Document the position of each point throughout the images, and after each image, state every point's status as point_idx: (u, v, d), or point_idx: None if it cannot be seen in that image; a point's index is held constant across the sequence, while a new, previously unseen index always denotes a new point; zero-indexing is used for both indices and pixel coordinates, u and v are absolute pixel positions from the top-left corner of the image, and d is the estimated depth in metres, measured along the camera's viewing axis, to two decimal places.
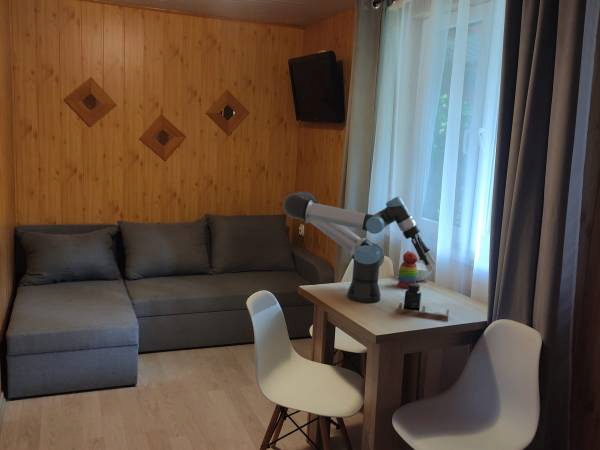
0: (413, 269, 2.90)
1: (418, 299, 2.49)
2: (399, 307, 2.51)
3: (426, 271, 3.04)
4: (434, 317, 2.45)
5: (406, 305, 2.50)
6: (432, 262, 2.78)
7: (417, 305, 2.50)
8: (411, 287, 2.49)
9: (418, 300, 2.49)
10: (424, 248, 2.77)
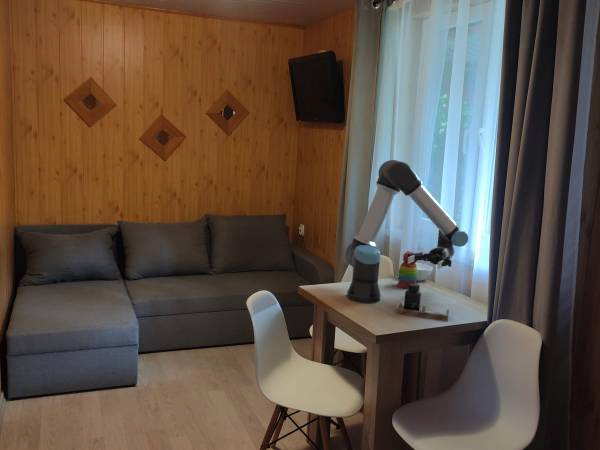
0: (413, 269, 2.90)
1: (418, 299, 2.49)
2: (399, 307, 2.51)
3: (426, 271, 3.04)
4: (434, 317, 2.45)
5: (406, 305, 2.50)
6: (410, 260, 2.62)
7: (417, 305, 2.50)
8: (411, 287, 2.49)
9: (418, 300, 2.49)
10: (418, 258, 2.69)
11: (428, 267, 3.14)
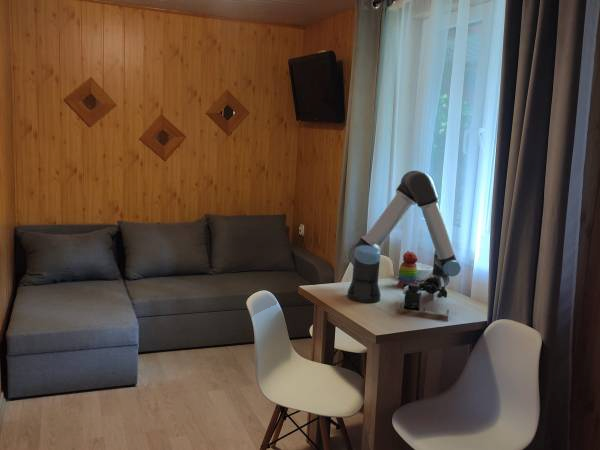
0: (413, 269, 2.90)
1: (418, 299, 2.49)
2: (399, 307, 2.51)
3: (426, 271, 3.04)
4: (434, 317, 2.45)
5: (406, 305, 2.50)
6: (405, 291, 2.60)
7: (417, 305, 2.50)
8: (411, 287, 2.49)
9: (418, 300, 2.49)
10: None
11: (428, 267, 3.14)
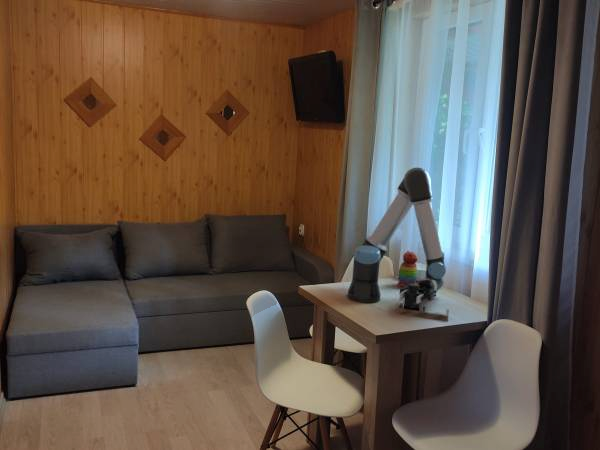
0: (413, 269, 2.90)
1: None
2: (399, 307, 2.51)
3: None
4: (434, 317, 2.45)
5: (406, 305, 2.50)
6: (402, 296, 2.50)
7: (417, 305, 2.50)
8: (411, 287, 2.49)
9: None
10: None
11: None
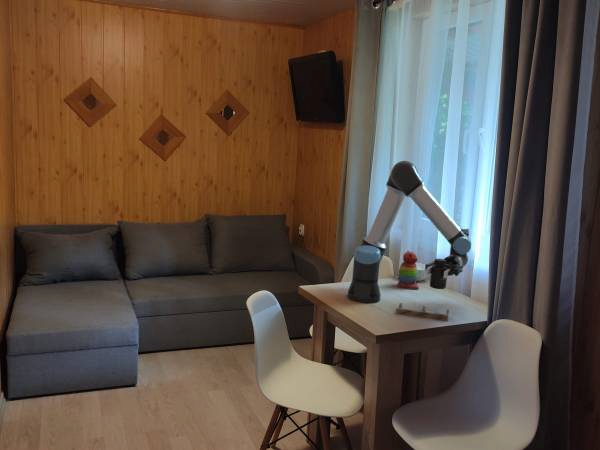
0: (413, 269, 2.90)
1: None
2: (399, 307, 2.51)
3: None
4: (434, 317, 2.45)
5: (433, 280, 2.46)
6: (428, 272, 2.46)
7: (444, 280, 2.45)
8: (438, 262, 2.45)
9: None
10: None
11: None
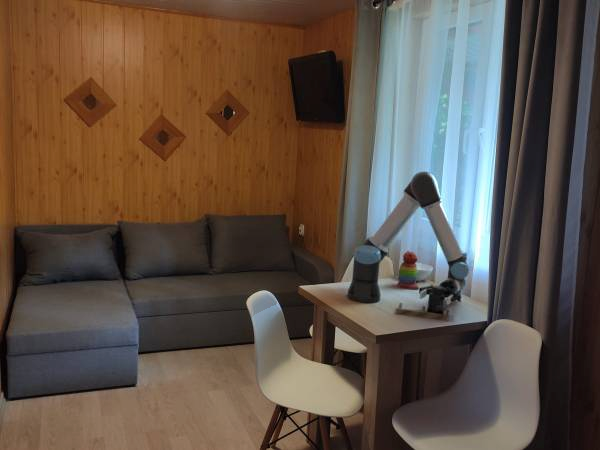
0: (413, 269, 2.90)
1: (443, 301, 2.47)
2: (399, 307, 2.51)
3: (426, 271, 3.04)
4: (434, 317, 2.45)
5: (430, 308, 2.48)
6: (422, 296, 2.49)
7: (441, 308, 2.47)
8: (435, 290, 2.47)
9: (442, 303, 2.47)
10: (429, 293, 2.56)
11: (428, 267, 3.14)
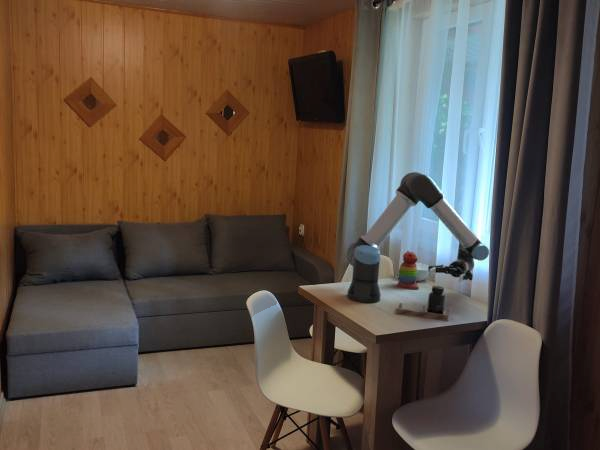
0: (413, 269, 2.90)
1: (442, 301, 2.47)
2: (399, 307, 2.51)
3: (426, 271, 3.04)
4: (434, 317, 2.45)
5: (430, 308, 2.48)
6: (431, 273, 2.63)
7: (441, 308, 2.47)
8: (435, 290, 2.47)
9: (442, 303, 2.47)
10: (438, 271, 2.69)
11: (428, 267, 3.14)
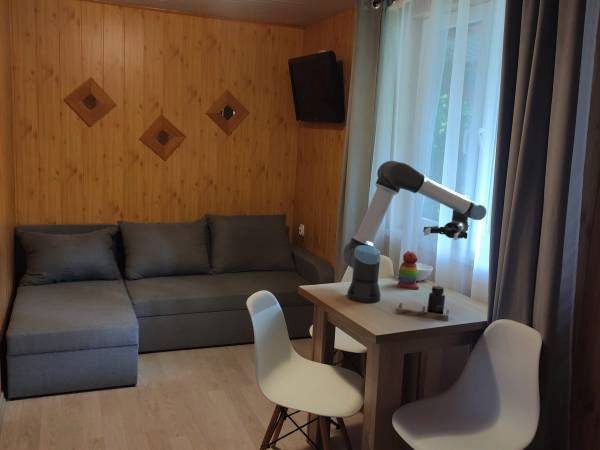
0: (413, 269, 2.90)
1: (442, 301, 2.47)
2: (399, 307, 2.51)
3: (426, 271, 3.04)
4: (434, 317, 2.45)
5: (430, 308, 2.48)
6: (426, 233, 2.66)
7: (441, 308, 2.47)
8: (435, 290, 2.47)
9: (442, 303, 2.47)
10: (433, 231, 2.72)
11: (428, 267, 3.14)
